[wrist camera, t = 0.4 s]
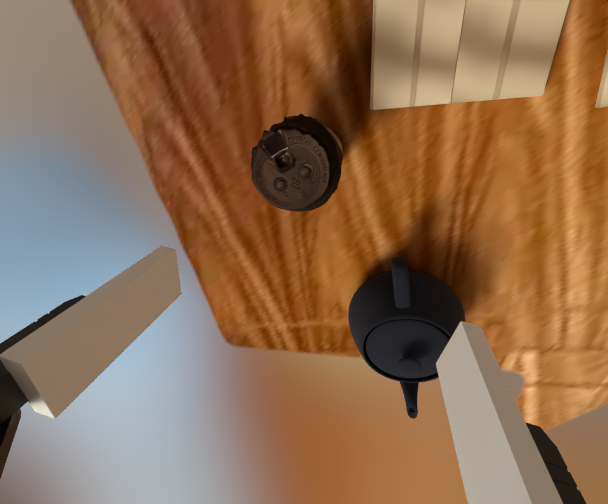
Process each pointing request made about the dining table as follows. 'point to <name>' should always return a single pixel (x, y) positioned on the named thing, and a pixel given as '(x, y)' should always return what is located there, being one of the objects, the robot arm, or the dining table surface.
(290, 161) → the coffee cup
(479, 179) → the dining table surface
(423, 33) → the plank
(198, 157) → the dining table surface
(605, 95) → the plank
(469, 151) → the dining table surface
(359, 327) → the teapot
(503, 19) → the laid board
